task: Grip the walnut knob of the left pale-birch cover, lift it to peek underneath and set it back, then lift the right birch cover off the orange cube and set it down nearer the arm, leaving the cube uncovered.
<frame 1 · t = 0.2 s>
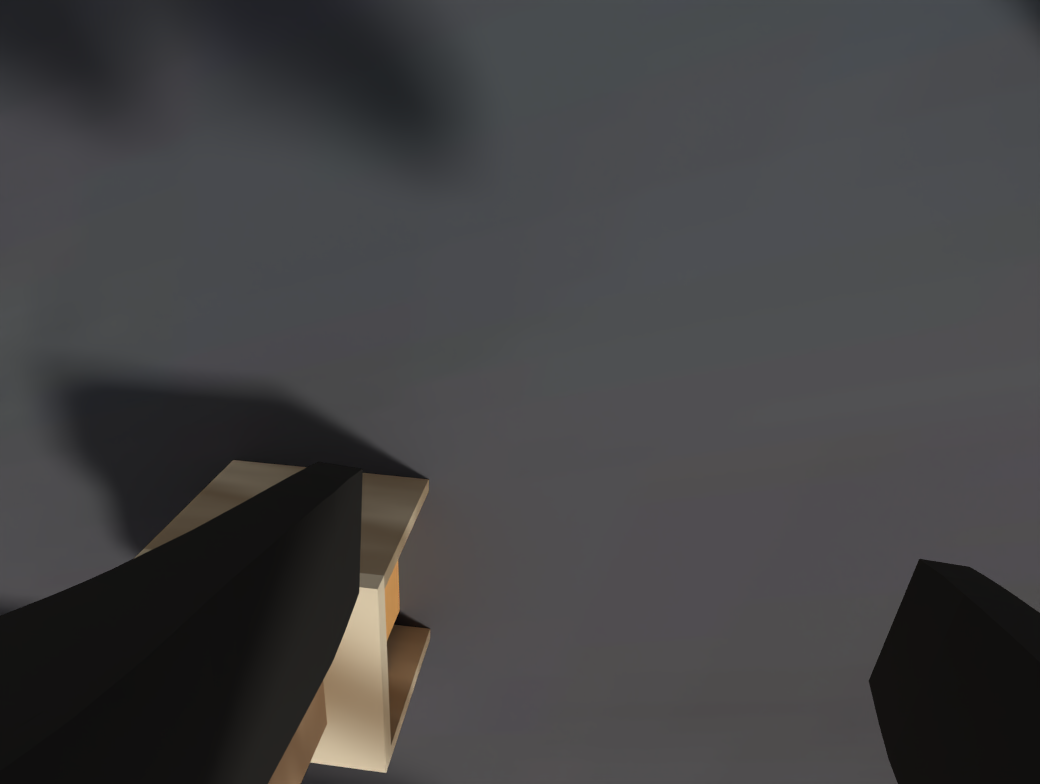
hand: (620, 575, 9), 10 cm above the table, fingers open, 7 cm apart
orange cube: (336, 551, 23), on the table
cover b: (335, 552, 22), on the table
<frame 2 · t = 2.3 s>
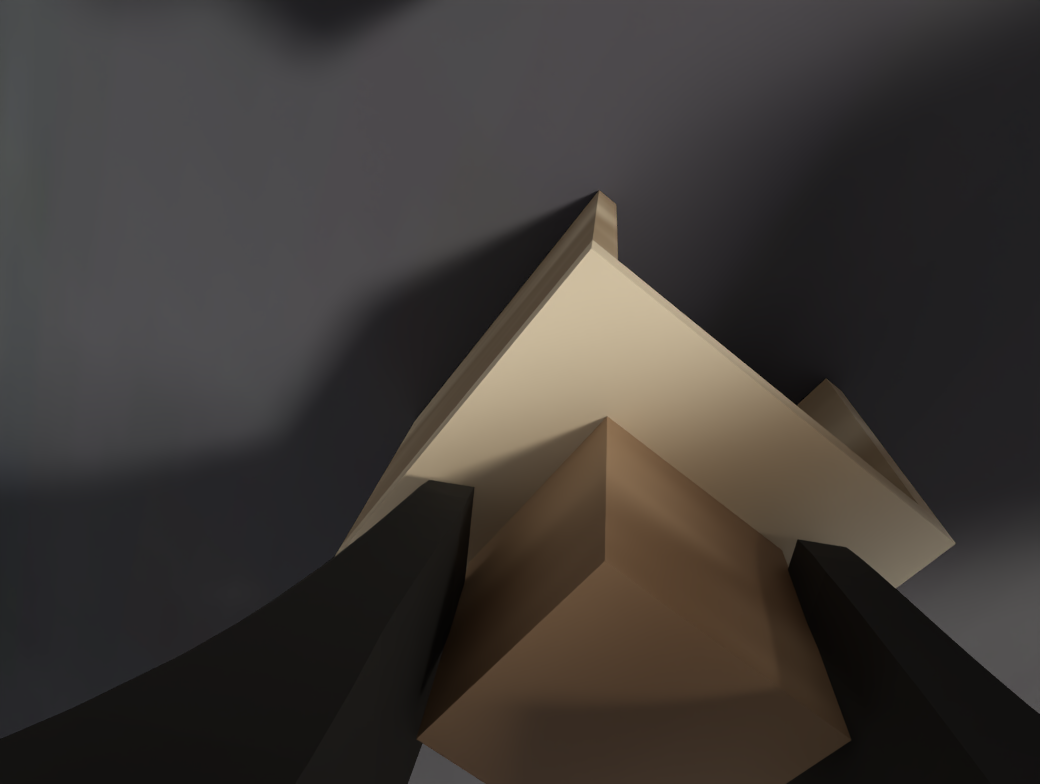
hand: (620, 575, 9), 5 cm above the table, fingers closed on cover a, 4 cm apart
cover a: (617, 406, 14), on the table, touching gripper
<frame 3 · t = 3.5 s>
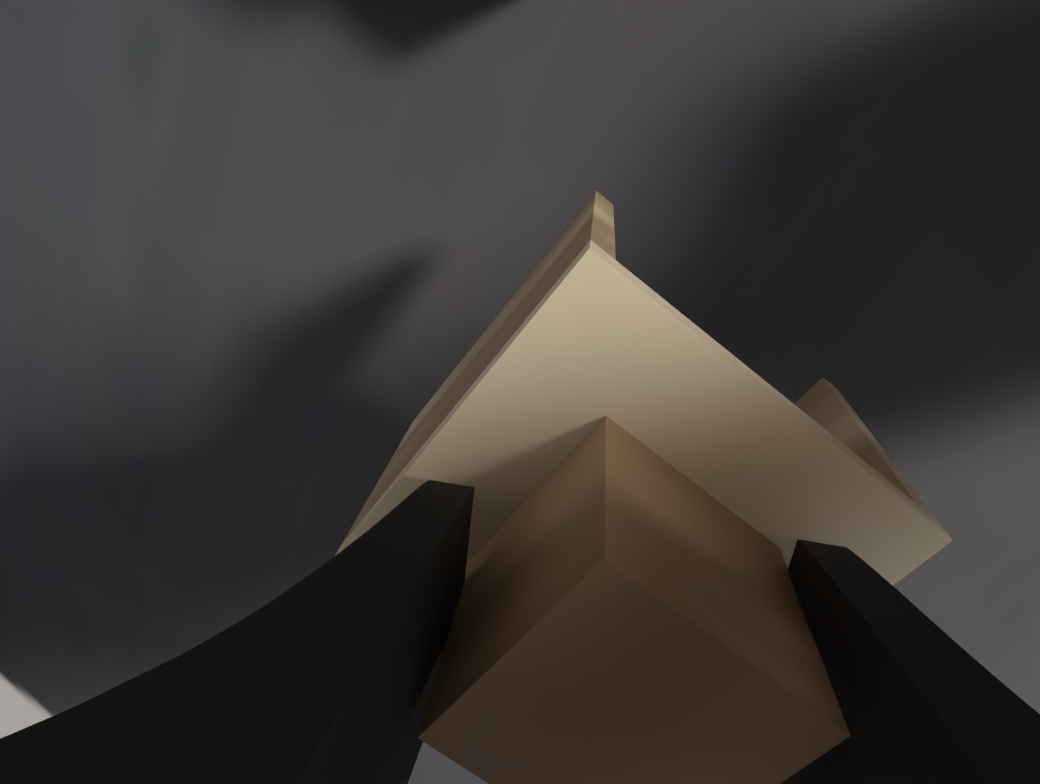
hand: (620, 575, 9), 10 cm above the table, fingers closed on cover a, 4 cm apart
cover a: (615, 406, 14), point 5 cm above the table, touching gripper
when the fingers open (7 cm above the table, at t = 5.2 s): cover a drops 1 cm, on the table.
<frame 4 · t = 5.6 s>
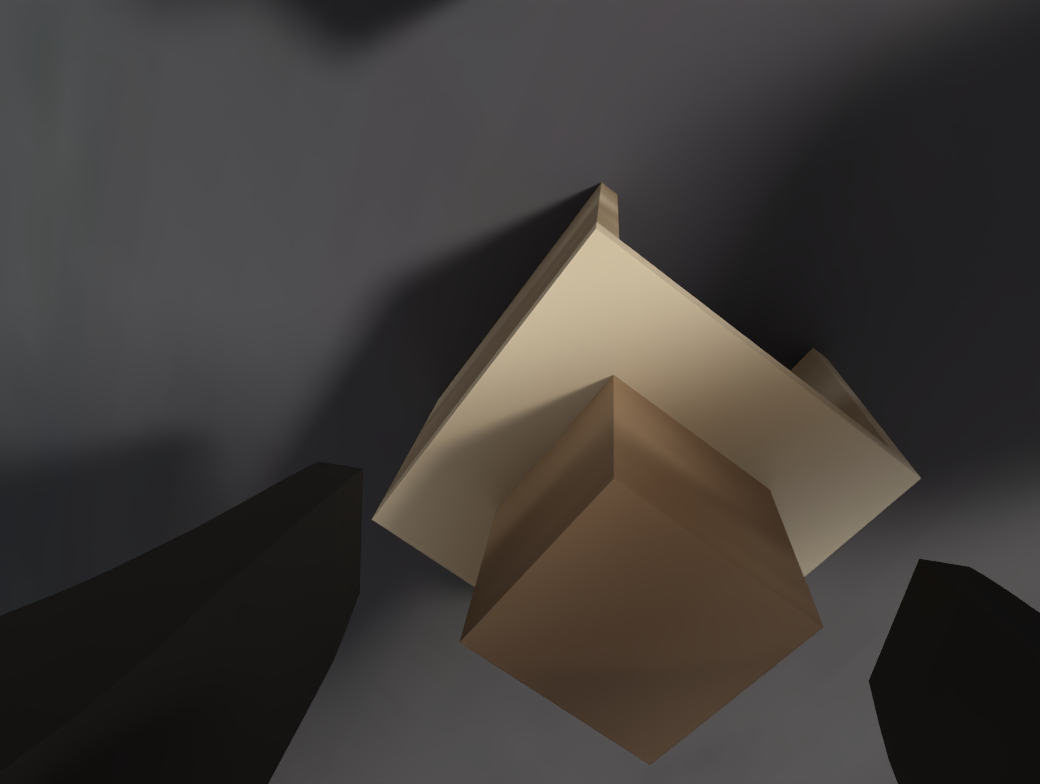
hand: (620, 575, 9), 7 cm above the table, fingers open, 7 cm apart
cover a: (624, 379, 16), on the table
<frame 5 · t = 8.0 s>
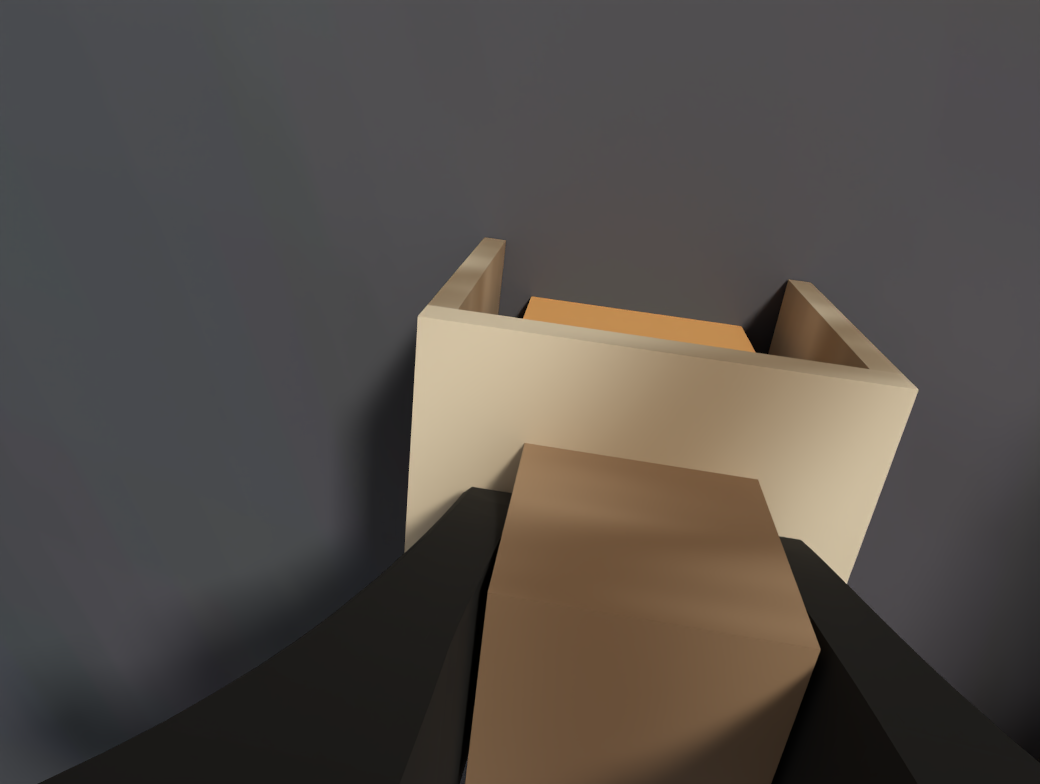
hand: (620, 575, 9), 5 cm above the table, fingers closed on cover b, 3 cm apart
orange cube: (617, 404, 14), on the table
cover b: (618, 406, 14), on the table, touching gripper
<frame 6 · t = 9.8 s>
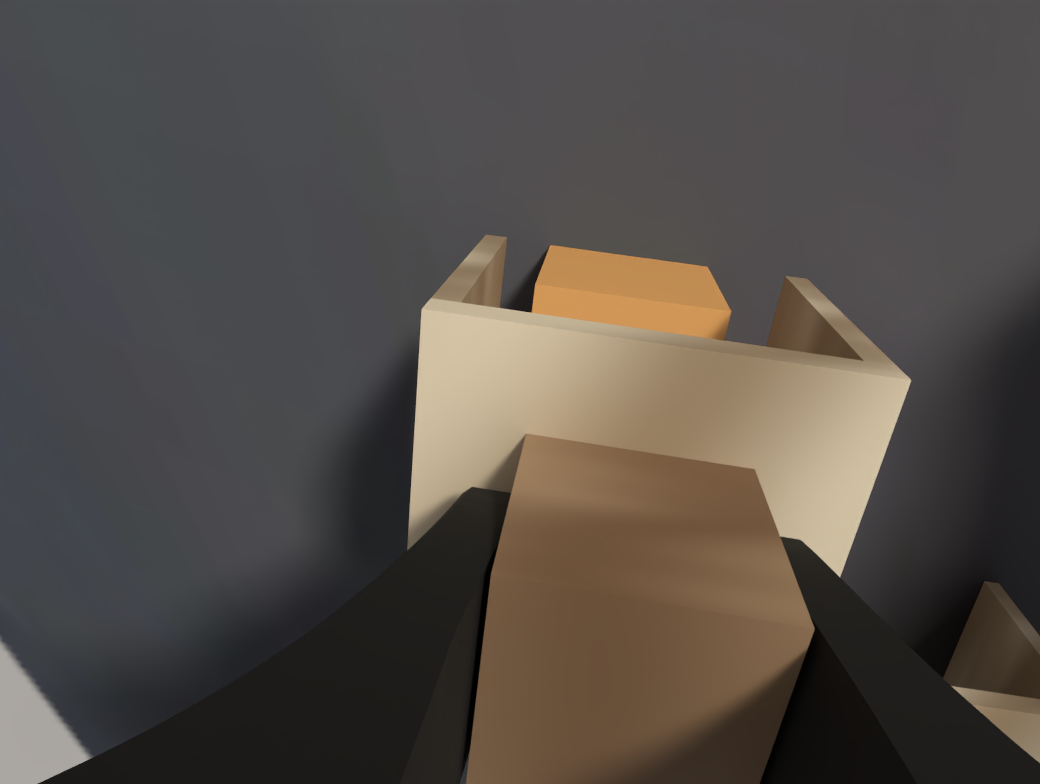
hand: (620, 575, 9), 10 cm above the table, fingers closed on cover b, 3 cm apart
orange cube: (615, 329, 19), on the table
cover b: (617, 401, 15), point 5 cm above the table, touching gripper
cover a: (862, 647, 22), on the table
when the fingers open (7 cm above the table, at t = 11.5 s): cover b drops 1 cm, on the table.
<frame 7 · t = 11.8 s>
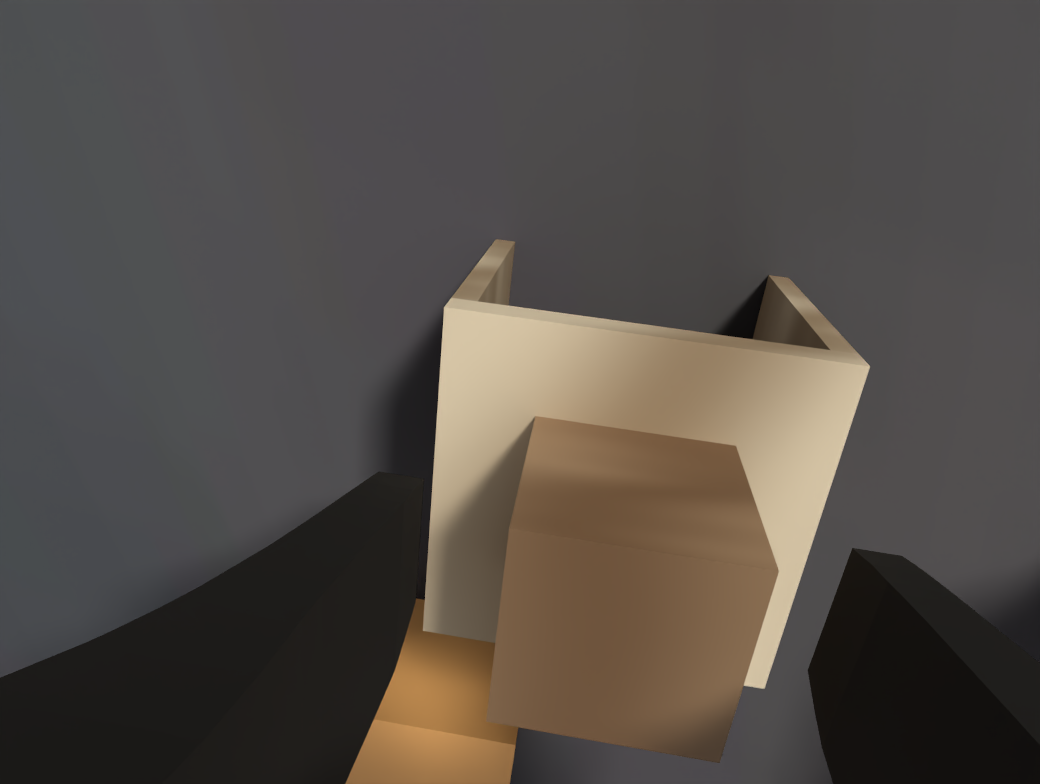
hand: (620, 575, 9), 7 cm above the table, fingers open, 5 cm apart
orange cube: (453, 661, 20), on the table
cover b: (616, 391, 16), on the table
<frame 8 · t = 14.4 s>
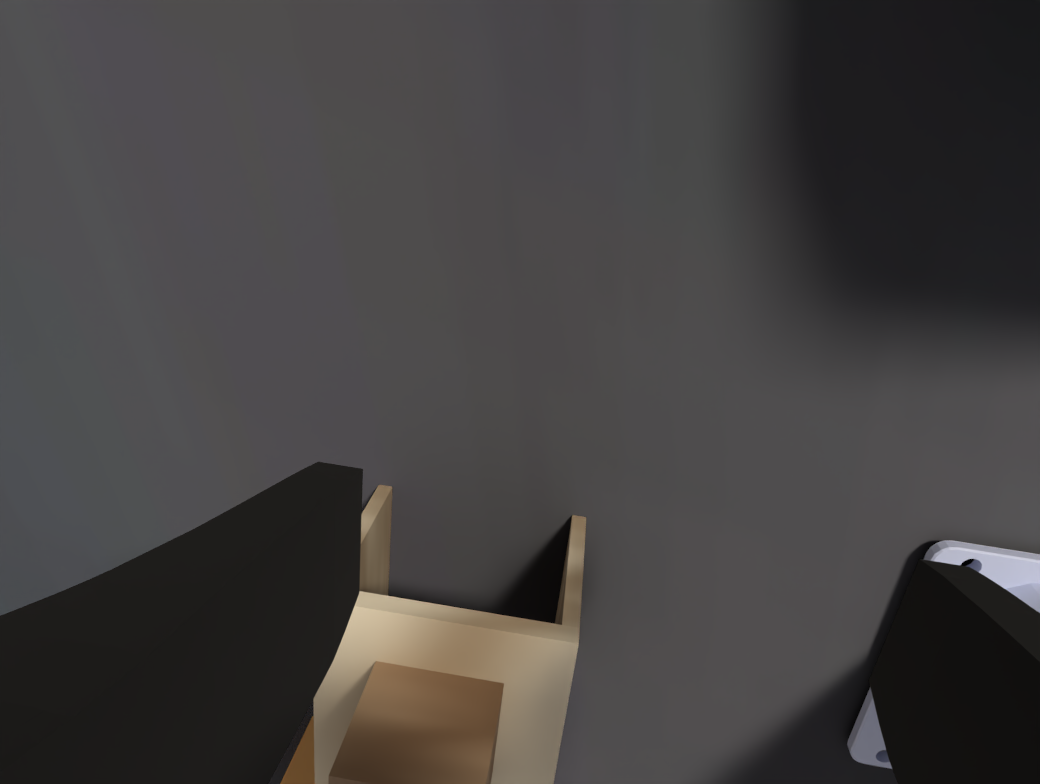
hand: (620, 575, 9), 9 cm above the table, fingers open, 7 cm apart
orange cube: (368, 765, 25), on the table
cover b: (473, 585, 22), on the table
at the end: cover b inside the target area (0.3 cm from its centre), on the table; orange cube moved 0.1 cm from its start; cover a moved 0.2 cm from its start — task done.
